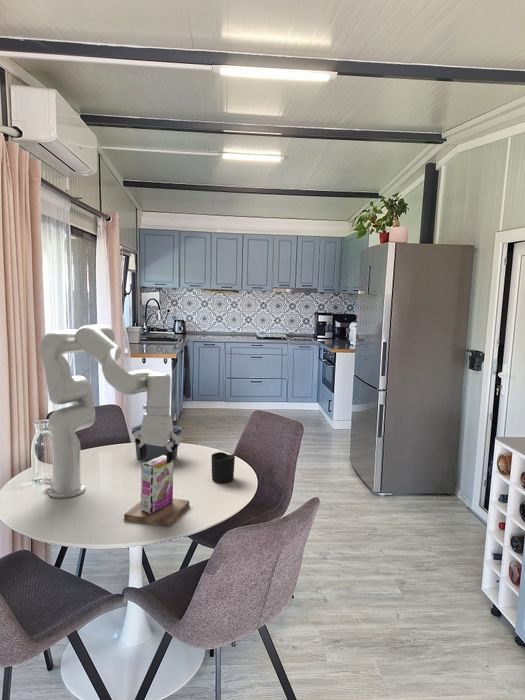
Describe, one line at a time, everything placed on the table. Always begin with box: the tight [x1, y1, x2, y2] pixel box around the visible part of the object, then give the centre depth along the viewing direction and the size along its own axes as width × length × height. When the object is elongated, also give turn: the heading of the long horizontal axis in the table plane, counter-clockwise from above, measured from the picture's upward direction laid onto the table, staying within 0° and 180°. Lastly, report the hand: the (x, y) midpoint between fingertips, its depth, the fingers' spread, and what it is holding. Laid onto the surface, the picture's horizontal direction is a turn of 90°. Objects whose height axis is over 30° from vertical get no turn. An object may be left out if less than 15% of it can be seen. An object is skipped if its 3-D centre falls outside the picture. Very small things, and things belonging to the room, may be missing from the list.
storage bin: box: [130, 423, 183, 461], centre depth 212 cm, size 21×16×14 cm
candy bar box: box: [140, 455, 175, 514], centre depth 156 cm, size 11×5×16 cm, turn 152°
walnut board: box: [123, 498, 190, 528], centre depth 157 cm, size 16×16×2 cm
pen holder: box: [210, 451, 236, 484], centre depth 188 cm, size 9×9×10 cm
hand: (156, 460), depth 156 cm, fingers open, 9 cm apart
